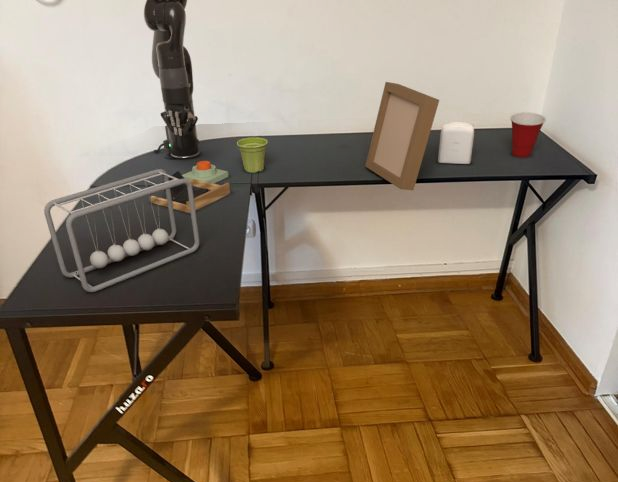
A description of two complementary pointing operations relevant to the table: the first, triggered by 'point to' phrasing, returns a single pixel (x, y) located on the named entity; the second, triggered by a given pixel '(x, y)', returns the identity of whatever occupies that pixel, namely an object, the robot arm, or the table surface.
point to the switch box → (206, 174)
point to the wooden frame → (201, 200)
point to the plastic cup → (525, 132)
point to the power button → (203, 165)
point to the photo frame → (401, 134)
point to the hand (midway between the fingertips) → (183, 147)
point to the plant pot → (252, 153)
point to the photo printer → (456, 143)
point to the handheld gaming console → (183, 190)
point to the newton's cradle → (131, 245)
